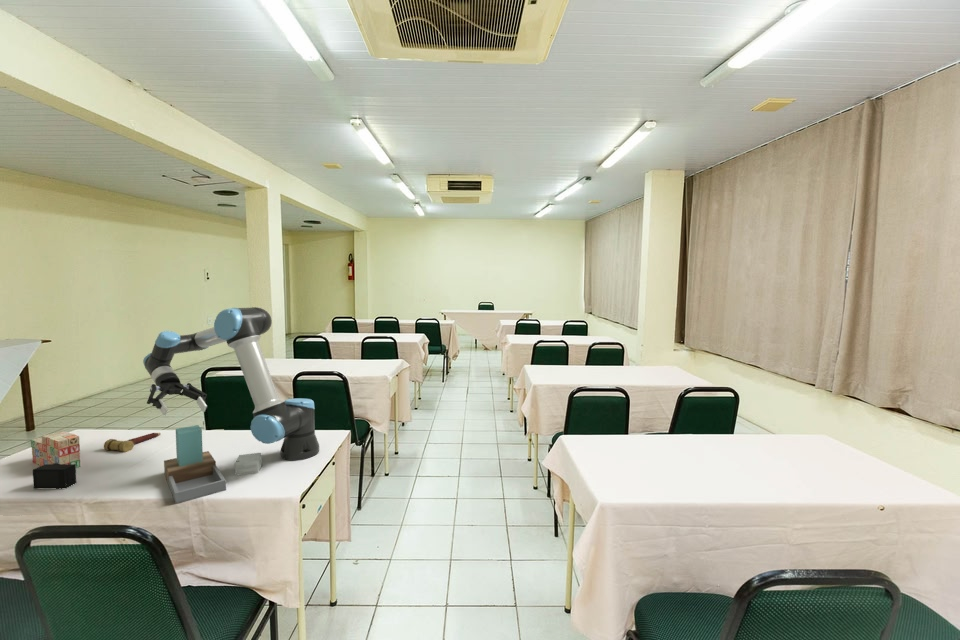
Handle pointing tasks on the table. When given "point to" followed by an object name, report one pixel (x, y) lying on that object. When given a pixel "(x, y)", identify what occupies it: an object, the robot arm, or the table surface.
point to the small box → (248, 464)
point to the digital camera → (54, 476)
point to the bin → (197, 486)
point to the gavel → (127, 443)
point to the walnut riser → (189, 469)
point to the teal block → (189, 445)
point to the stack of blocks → (56, 449)
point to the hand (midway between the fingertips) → (186, 410)
